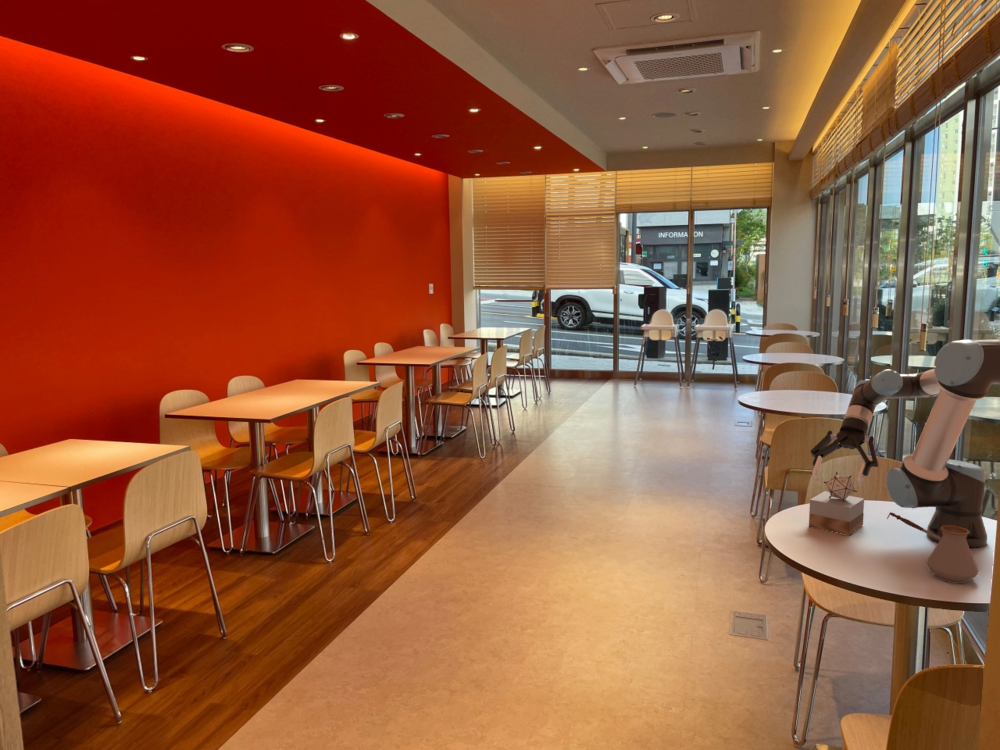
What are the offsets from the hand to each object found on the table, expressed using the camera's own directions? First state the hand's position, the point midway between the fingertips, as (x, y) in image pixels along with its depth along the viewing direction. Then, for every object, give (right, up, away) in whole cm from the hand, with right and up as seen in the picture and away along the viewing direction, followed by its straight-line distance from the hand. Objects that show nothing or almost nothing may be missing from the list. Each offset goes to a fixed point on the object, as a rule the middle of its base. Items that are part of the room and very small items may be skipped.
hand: (836, 479), depth 227 cm
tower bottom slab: (+2, -15, +4) cm, 16 cm away
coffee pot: (+10, -20, -32) cm, 39 cm away
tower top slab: (+2, -11, +4) cm, 12 cm away
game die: (+2, -7, +3) cm, 8 cm away
